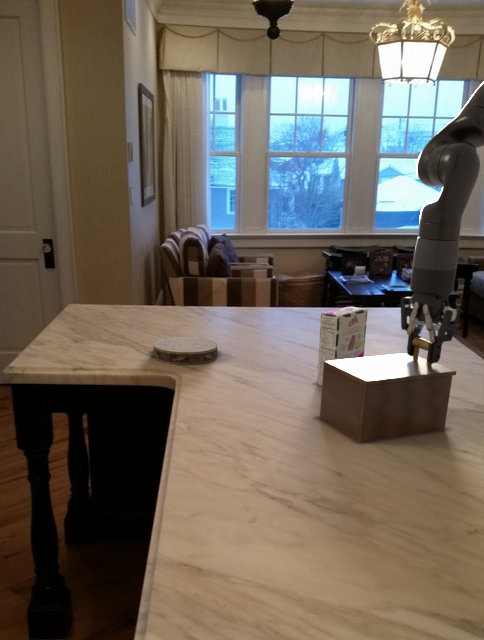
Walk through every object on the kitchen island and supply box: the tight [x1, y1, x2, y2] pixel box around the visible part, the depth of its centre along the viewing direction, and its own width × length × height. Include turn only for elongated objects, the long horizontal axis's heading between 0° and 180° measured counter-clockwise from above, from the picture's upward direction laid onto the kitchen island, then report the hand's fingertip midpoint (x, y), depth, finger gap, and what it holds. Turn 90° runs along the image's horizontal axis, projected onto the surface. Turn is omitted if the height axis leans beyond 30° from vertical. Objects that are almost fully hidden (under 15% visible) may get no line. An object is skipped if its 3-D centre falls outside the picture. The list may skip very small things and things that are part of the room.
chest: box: [319, 366, 453, 444], centre depth 130 cm, size 19×14×11 cm
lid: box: [324, 337, 457, 386], centre depth 127 cm, size 19×14×5 cm
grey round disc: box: [152, 336, 218, 365], centre depth 175 cm, size 16×16×3 cm
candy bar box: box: [316, 306, 369, 387], centre depth 154 cm, size 11×5×16 cm, turn 137°
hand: (422, 358), depth 130 cm, fingers closed on lid, 5 cm apart
